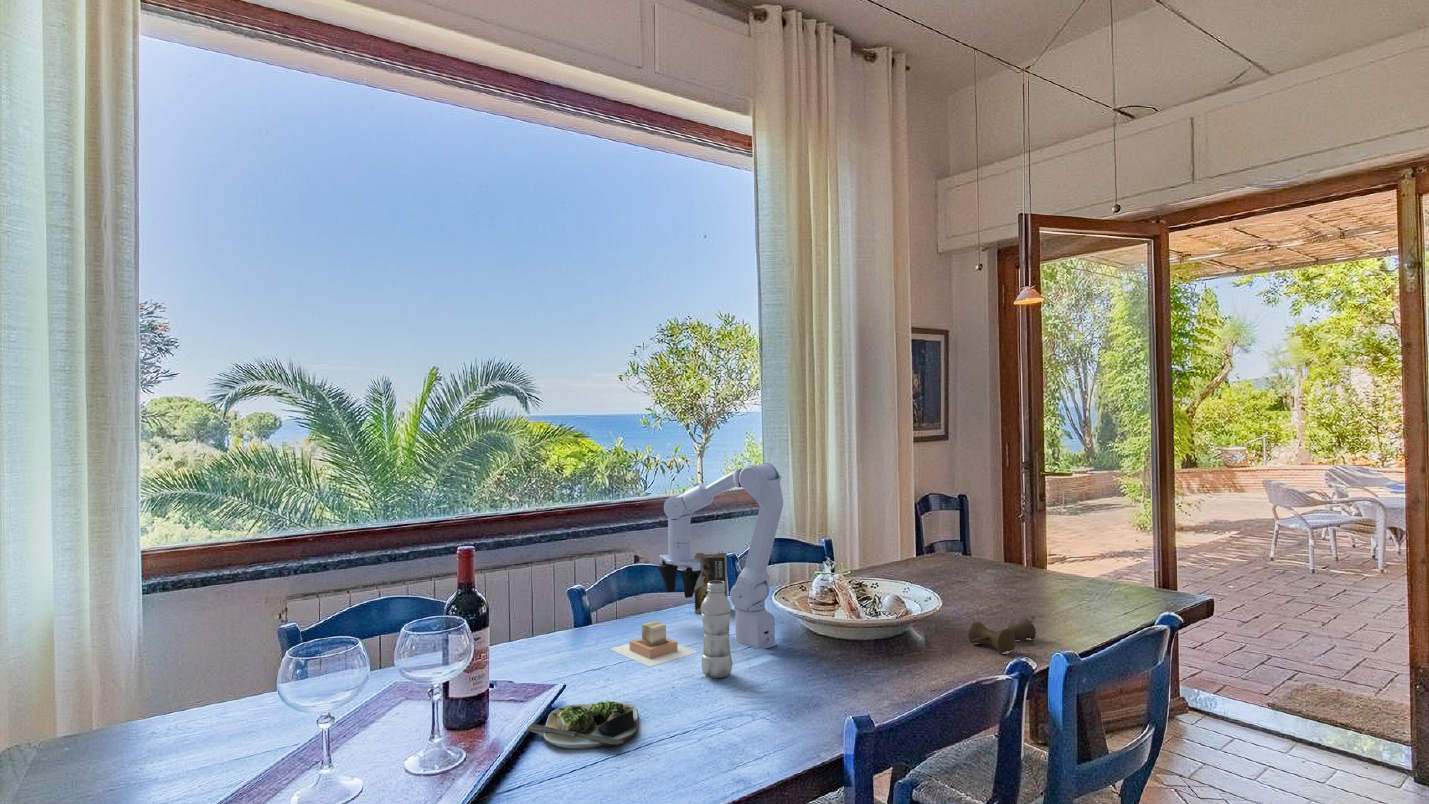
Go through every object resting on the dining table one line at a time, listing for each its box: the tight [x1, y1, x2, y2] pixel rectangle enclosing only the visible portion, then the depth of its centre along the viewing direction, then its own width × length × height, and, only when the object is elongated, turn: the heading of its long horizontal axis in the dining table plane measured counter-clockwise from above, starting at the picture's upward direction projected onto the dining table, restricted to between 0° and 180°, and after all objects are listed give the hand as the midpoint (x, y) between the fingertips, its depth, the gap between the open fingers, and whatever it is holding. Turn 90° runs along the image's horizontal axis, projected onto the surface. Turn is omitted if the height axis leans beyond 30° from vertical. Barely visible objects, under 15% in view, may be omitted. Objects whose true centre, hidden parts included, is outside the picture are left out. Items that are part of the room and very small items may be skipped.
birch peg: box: [641, 620, 667, 647], centre depth 163 cm, size 4×4×6 cm
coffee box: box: [693, 552, 728, 615], centre depth 199 cm, size 9×6×16 cm
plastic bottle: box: [701, 581, 734, 679], centre depth 149 cm, size 6×7×20 cm
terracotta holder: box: [629, 637, 678, 659], centre depth 163 cm, size 8×8×2 cm
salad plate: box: [527, 700, 639, 750], centre depth 124 cm, size 19×18×5 cm
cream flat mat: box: [609, 642, 698, 668], centre depth 163 cm, size 16×14×1 cm
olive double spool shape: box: [967, 619, 1037, 654], centre depth 167 cm, size 6×10×20 cm
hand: (679, 594), depth 181 cm, fingers open, 7 cm apart
